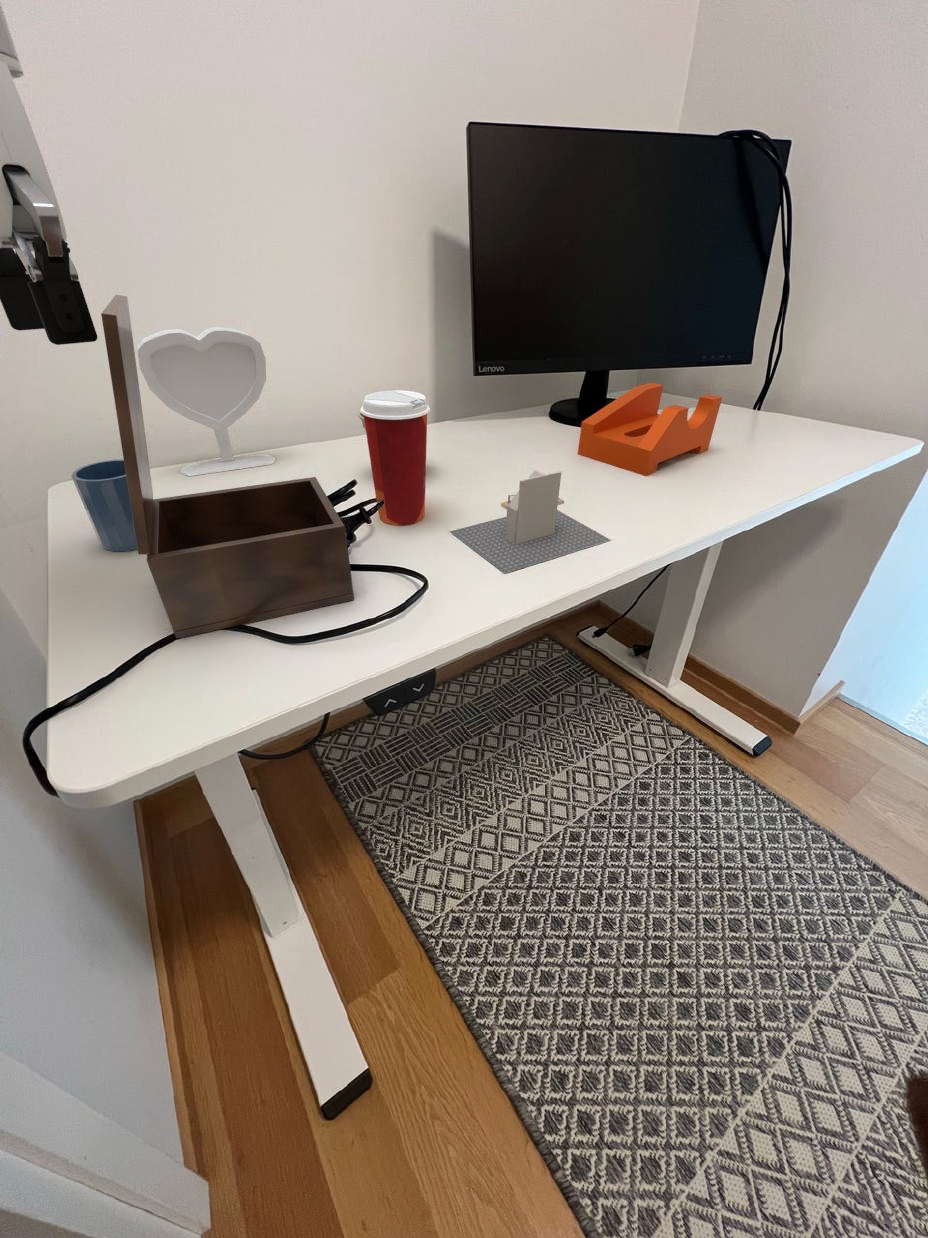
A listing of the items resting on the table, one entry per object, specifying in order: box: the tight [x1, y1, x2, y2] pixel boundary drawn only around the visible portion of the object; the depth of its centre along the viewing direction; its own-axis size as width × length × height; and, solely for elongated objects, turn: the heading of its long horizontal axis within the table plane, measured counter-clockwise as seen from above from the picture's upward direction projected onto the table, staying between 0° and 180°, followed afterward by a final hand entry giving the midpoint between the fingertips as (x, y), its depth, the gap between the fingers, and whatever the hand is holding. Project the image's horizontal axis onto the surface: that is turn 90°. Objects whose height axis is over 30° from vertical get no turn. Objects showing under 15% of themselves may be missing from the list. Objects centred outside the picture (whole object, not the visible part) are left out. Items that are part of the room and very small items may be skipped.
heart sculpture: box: [136, 326, 277, 477], centre depth 76 cm, size 16×5×18 cm, turn 117°
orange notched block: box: [577, 382, 723, 477], centre depth 86 cm, size 18×13×8 cm
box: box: [146, 476, 355, 640], centre depth 52 cm, size 16×13×8 cm
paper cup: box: [359, 389, 431, 526], centre depth 63 cm, size 8×8×14 cm
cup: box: [71, 459, 138, 552], centre depth 59 cm, size 6×6×8 cm
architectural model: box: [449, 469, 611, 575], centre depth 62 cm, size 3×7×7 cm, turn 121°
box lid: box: [100, 294, 154, 555], centre depth 42 cm, size 16×13×1 cm
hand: (53, 335), depth 44 cm, fingers open, 9 cm apart
